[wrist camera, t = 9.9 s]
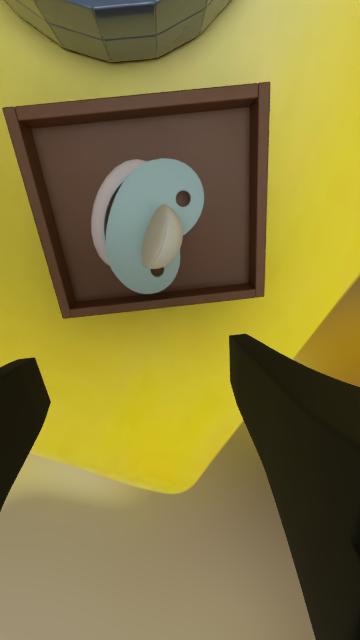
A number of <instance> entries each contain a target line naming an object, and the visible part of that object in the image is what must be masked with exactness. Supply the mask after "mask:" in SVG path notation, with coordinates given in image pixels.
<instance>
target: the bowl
mask: <svg viewBox="0 0 360 640" xmlns="http://www.w3.org/2000/svg"><path fill="white" fill-rule="evenodd" d="M5 1H6V2H7V3H8V5H9V6H10V7H11V8H12V9H13V11H14V12H15V13H16V14H17V15H18V16H20V17H21V18H23V19H24V20H25V21H27V22H28V23H30V24H31V25H32V26H34V27H35V28H37V29H38V30H39V31H41V32H42V33H44V34H45V35H46V36H48V37H49V38H50V39H52V40H53V41H55V42H56V43H57V44H59V45H60V46H62V47H64V48H65V49H69V50H72V51H75V52H79V53H82V54H85V55H88V56H92V57H95V58H98V59H101V60H105V61H108V62H119V61H130V60H140V59H151V58H156V57H157V58H158V57H160V56H162V55H164V54H166V53H167V52H169V51H171V50H173V49H175V48H177V47H179V46H180V45H182V44H184V43H186V42H188V41H190V40H192V39H193V38H195V37H197V36H199V35H200V34H201V33H202V32H203V31H204V30H205V29H206V27H207V26H208V25H209V24H210V23H211V22H212V21H213V20H214V18H215V17H216V16H217V15H218V14H219V13H220V12H221V11H222V10H223V8H224V7H225V6H226V5H227V4H228V3H229V2H230V1H231V0H5Z"/></svg>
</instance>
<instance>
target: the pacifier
mask: <svg viewBox="0 0 360 640" xmlns="http://www.w3.org/2000/svg"><path fill="white" fill-rule="evenodd" d="M119 188H120V189H119ZM118 189H119V191H118V192H117V190H118ZM183 190H184V191H187V192H188V193H189V194H190V203H189V204H188V205H187V206H185V207H180V206H179V205H178V204H177V203H176V195H177V193H178V192H180V191H183ZM116 192H117V194H116V196H115V199H114V202H113V204H112V207H111V210H110V214H109V218H108V223H107V228H106V218H107V212H108V208H109V206H110V203H111V200H112V198H113V197H114V195H115V193H116ZM203 204H204V191H203V186H202V183H201V181H200V179H199V177H198V175H197V174H196V173H195V172H194V171H193V169H192V168H190V167H189V166H188V165H186V164H185V163H182V162H180V161H178V160H174V159H164V158H160V159H156V160H151V161H148V162H147V161H144V160H139V159H134V160H129V161H125V162H123V163H122V164H120V165H118V166H117V167H115V168H114V169H113V170H112V171H111V172H110V174H109V175H108V176H107V177H106V178H105V180H104V182H103V183H102V185H101V187H100V188H99V190H98V193H97V196H96V199H95V201H94V205H93V211H92V217H91V233H92V238H93V243H94V246H95V248H96V250H97V253H98V255H99V256H100V258H101V259H102V260H103V261H104V262H105V263H106V264H107V265H109V266H110V267H111V269H112V271H113V272H114V274H115V275H116V277H118V279H119V280H120V281H121V282H122V283H123V284H124V285H125V286H126V287H128V288H129V289H131V290H133V291H135V292H138V293H142V294H153V293H157V292H160V291H162V290H164V289H165V288H166V287H168V286H169V285H170V284H171V283H172V282H173V280H174V278H175V277H176V275H177V272H178V269H179V266H180V248H181V244H182V239H183V235H185V234H186V233H187V232H188V231H189V230H190V229H191V228H192V227H193V226H194V225H195V223H196V222H197V220H198V219H199V217H200V215H201V212H202V209H203ZM162 267H164V272H163V274H162V275H160V276H154V275H153V274H152V273H151V269H158V268H162Z"/></svg>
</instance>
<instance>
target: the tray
mask: <svg viewBox="0 0 360 640" xmlns="http://www.w3.org/2000/svg"><path fill="white" fill-rule="evenodd" d="M2 109H3V113H4V116H5V120H6V123H7V126H8V130H9V133H10V137H11V140H12V144H13V147H14V151H15V154H16V158H17V161H18V165H19V168H20V171H21V175H22V178H23V182H24V185H25V189H26V192H27V196H28V199H29V203H30V206H31V210H32V213H33V216H34V220H35V223H36V227H37V230H38V234H39V237H40V241H41V244H42V248H43V251H44V254H45V258H46V261H47V265H48V268H49V272H50V275H51V279H52V282H53V286H54V289H55V293H56V296H57V299H58V303H59V306H60V310H61V313H62V317H63V319H65V318H75V317H84V316H93V315H102V314H111V313H120V312H129V311H138V310H147V309H156V308H165V307H175V306H184V305H193V304H202V303H211V302H220V301H229V300H238V299H247V298H255V297H264V284H265V250H266V216H267V181H268V147H269V112H270V82H263V83H259V84H258V83H254V84H243V85H233V86H223V87H212V88H202V89H192V90H181V91H171V92H161V93H150V94H140V95H130V96H119V97H109V98H98V99H88V100H78V101H67V102H57V103H47V104H36V105H26V106H16V107H5V108H2ZM160 158H164V159H174V160H178V161H180V162H182V163H185V164H186V165H188V166H189V167H190V168H192V169H193V171H194V172H195V173H196V174H197V175H198V177H199V179H200V181H201V183H202V186H203V191H204V204H203V209H202V212H201V215H200V217H199V219H198V220H197V222H196V223H195V225H194V226H193V227H192V228H191V229H190V230H189V231H188V232H187V233H186V234H185V235H183V239H182V244H181V248H180V266H179V269H178V272H177V275H176V277H175V278H174V280H173V282H172V283H171V284H170V285H169V286H168V287H166V288H165V289H164V290H162V291H160V292H157V293H153V294H142V293H138V292H135V291H133V290H131V289H129V288H128V287H126V286H125V285H124V284H123V283H122V282H121V281H120V280H119V279H118V277H116V275H115V274H114V272H113V271H112V269H111V267H110V266H109V265H107V264H106V263H105V262H104V261H103V260H102V259H101V258H100V256H99V255H98V253H97V250H96V248H95V246H94V243H93V238H92V233H91V217H92V211H93V205H94V201H95V199H96V196H97V193H98V190H99V188H100V187H101V185H102V183H103V182H104V180H105V178H106V177H107V176H108V175H109V174H110V172H111V171H112V170H113V169H114V168H115V167H117V166H118V165H120V164H122V163H123V162H125V161H129V160H134V159H139V160H144V161H147V162H148V161H151V160H156V159H160ZM119 189H120V188H119ZM119 189H118V190H117V192H118V191H119ZM117 192H116V193H115V195H114V197H113V198H112V200H111V203H110V206H109V208H108V212H107V218H106V228H107V223H108V218H109V214H110V210H111V207H112V204H113V202H114V199H115V196H116V194H117ZM176 203H177V204H178V205H179V206H180V207H185V206H187V205H188V204H189V203H190V194H189V193H188V192H187V191H184V190H183V191H180V192H178V193H177V195H176ZM163 272H164V267H162V268H158V269H151V273H152V274H153V275H154V276H160V275H162V274H163Z"/></svg>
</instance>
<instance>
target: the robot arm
mask: <svg viewBox="0 0 360 640" xmlns="http://www.w3.org/2000/svg"><path fill="white" fill-rule="evenodd" d="M229 348H230V382H231V385H232V389H233V393H234V396H235V399H236V403H237V406H238V408H239V410H240V413H241V415H242V417H243V420H244V422H245V424H246V427H247V429H248V431H249V433H250V436H251V438H252V440H253V442H254V445H255V447H256V449H257V452H258V454H259V456H260V459H261V461H262V463H263V466H264V469H265V471H266V474H267V478H268V481H269V484H270V487H271V490H272V493H273V496H274V499H275V502H276V505H277V509H278V511H279V515H280V518H281V521H282V525H283V528H284V531H285V534H286V537H287V541H288V544H289V547H290V551H291V554H292V558H293V561H294V564H295V568H296V571H297V574H298V578H299V581H300V585H301V588H302V592H303V596H304V599H305V603H306V606H307V610H308V613H309V617H310V621H311V624H312V628H313V631H314V635H315V638H316V640H360V387H357V386H354V385H351V384H348V383H345V382H342V381H340V380H337V379H335V378H332V377H330V376H327V375H325V374H322V373H320V372H317V371H315V370H313V369H310V368H308V367H306V366H304V365H302V364H300V363H298V362H296V361H294V360H292V359H290V358H288V357H286V356H284V355H282V354H281V353H279V352H277V351H275V350H273V349H272V348H270V347H268V346H266V345H265V344H263V343H261V342H260V341H258V340H256V339H254V338H253V337H251V336H249V335H247V334H240V335H231V336H229ZM50 403H51V401H50V399H49V396H48V393H47V390H46V387H45V385H44V382H43V379H42V376H41V373H40V371H39V368H38V365H37V362H36V359H35V358H26V359H18V360H15V361H13V362H11V363H8V364H6V365H4V366H2V367H0V511H1V508H2V506H3V504H4V501H5V499H6V497H7V495H8V493H9V491H10V489H11V487H12V485H13V483H14V481H15V479H16V477H17V475H18V473H19V471H20V470H21V468H22V466H23V464H24V462H25V460H26V458H27V456H28V454H29V452H30V450H31V448H32V446H33V444H34V442H35V440H36V439H37V437H38V435H39V433H40V430H41V428H42V426H43V423H44V421H45V418H46V415H47V412H48V409H49V406H50Z"/></svg>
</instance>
